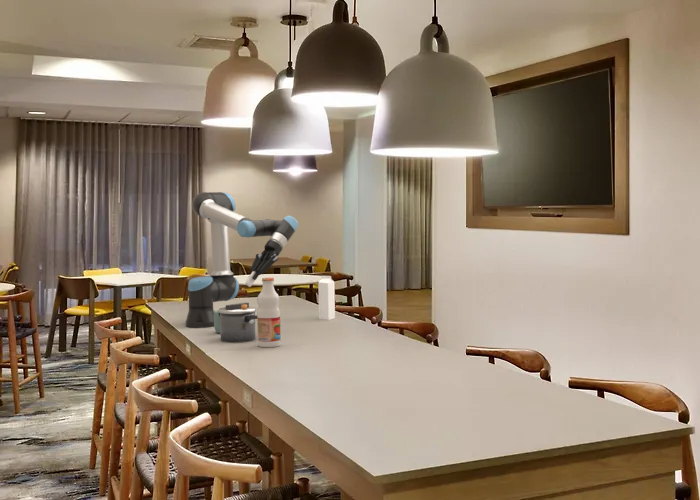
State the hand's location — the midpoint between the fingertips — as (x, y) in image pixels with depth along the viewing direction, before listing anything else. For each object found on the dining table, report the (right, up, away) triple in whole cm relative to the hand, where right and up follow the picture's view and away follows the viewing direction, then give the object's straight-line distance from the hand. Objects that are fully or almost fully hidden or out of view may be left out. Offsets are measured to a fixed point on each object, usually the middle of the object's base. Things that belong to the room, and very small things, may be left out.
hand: (247, 284), depth 336 cm
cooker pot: (-4, -24, -3) cm, 24 cm away
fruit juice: (+11, -25, -19) cm, 33 cm away
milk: (+33, -20, +53) cm, 66 cm away
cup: (-13, -23, +15) cm, 30 cm away
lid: (-4, -11, -4) cm, 13 cm away
